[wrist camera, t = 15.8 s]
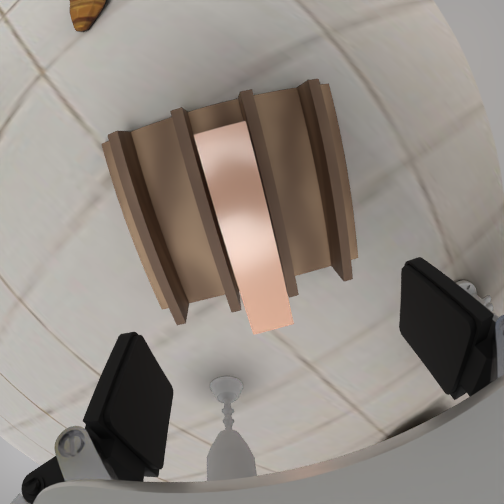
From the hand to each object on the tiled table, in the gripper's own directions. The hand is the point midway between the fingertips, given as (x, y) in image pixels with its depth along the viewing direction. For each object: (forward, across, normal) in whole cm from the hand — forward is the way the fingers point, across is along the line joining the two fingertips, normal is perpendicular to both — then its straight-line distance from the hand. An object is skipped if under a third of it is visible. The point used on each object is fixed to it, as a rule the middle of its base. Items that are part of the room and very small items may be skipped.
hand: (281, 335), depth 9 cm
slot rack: (+22, +1, -1) cm, 23 cm away
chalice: (+23, +10, +26) cm, 36 cm away
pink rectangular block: (+21, 0, 0) cm, 21 cm away
